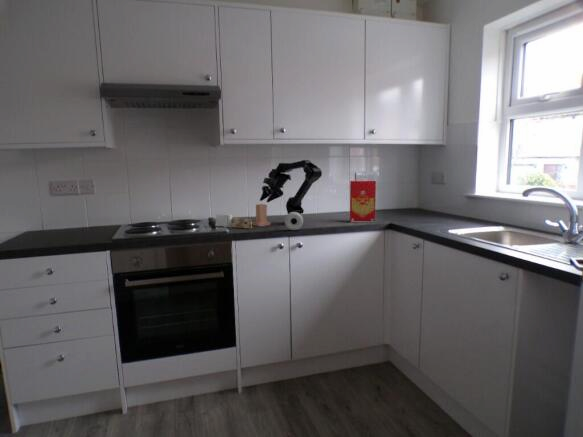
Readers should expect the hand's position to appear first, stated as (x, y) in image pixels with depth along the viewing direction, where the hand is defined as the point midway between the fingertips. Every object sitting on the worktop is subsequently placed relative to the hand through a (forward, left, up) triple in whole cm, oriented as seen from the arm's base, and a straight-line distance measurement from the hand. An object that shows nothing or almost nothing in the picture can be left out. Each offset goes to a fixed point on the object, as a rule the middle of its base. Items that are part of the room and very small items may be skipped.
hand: (263, 201), depth 221 cm
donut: (-9, +28, -14) cm, 32 cm away
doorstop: (+2, +3, -14) cm, 14 cm away
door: (+16, +11, -13) cm, 23 cm away
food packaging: (-58, +15, -14) cm, 62 cm away
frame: (+24, +3, -14) cm, 28 cm away
